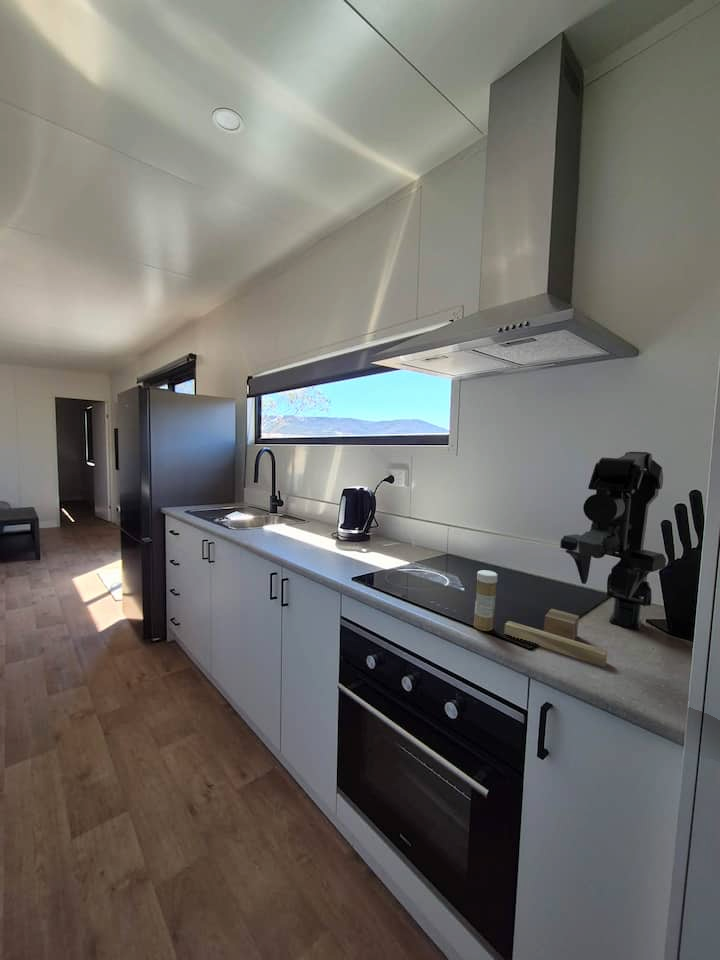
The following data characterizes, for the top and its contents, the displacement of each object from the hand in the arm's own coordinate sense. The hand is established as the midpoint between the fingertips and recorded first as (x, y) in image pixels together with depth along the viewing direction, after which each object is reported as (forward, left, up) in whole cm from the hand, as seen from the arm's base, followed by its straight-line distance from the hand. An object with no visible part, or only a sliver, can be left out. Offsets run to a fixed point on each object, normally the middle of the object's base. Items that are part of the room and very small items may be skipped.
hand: (605, 590), depth 85 cm
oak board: (+5, -8, -14) cm, 17 cm away
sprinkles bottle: (+6, -23, -14) cm, 28 cm away
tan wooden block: (-3, -8, -14) cm, 16 cm away
